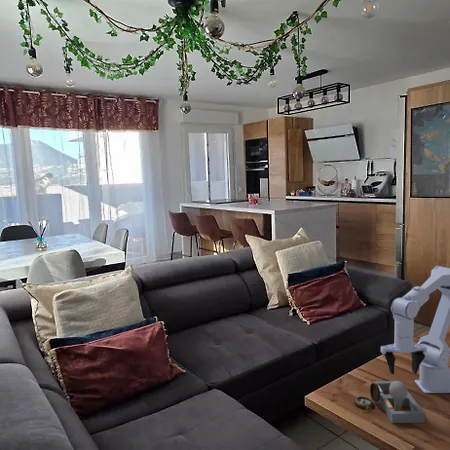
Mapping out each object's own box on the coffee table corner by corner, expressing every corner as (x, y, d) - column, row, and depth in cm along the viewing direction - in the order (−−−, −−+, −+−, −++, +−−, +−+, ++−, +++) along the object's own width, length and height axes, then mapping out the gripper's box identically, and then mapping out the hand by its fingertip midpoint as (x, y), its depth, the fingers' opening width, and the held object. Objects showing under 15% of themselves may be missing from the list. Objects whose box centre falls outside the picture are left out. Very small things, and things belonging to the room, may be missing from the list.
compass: (351, 399, 133) (351, 380, 132) (373, 398, 134) (373, 378, 133) (360, 414, 125) (360, 393, 124) (384, 412, 126) (384, 391, 125)
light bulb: (410, 415, 123) (410, 386, 122) (393, 416, 123) (394, 387, 122) (402, 405, 129) (402, 377, 127) (386, 406, 129) (386, 378, 127)
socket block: (399, 388, 138) (400, 380, 138) (424, 422, 120) (424, 412, 119) (371, 389, 139) (371, 380, 139) (391, 422, 120) (392, 413, 120)
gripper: (419, 328, 132) (419, 365, 133) (377, 330, 132) (377, 367, 134) (430, 337, 125) (429, 376, 126) (385, 338, 125) (385, 377, 127)
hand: (403, 372), depth 130 cm, fingers open, 7 cm apart
